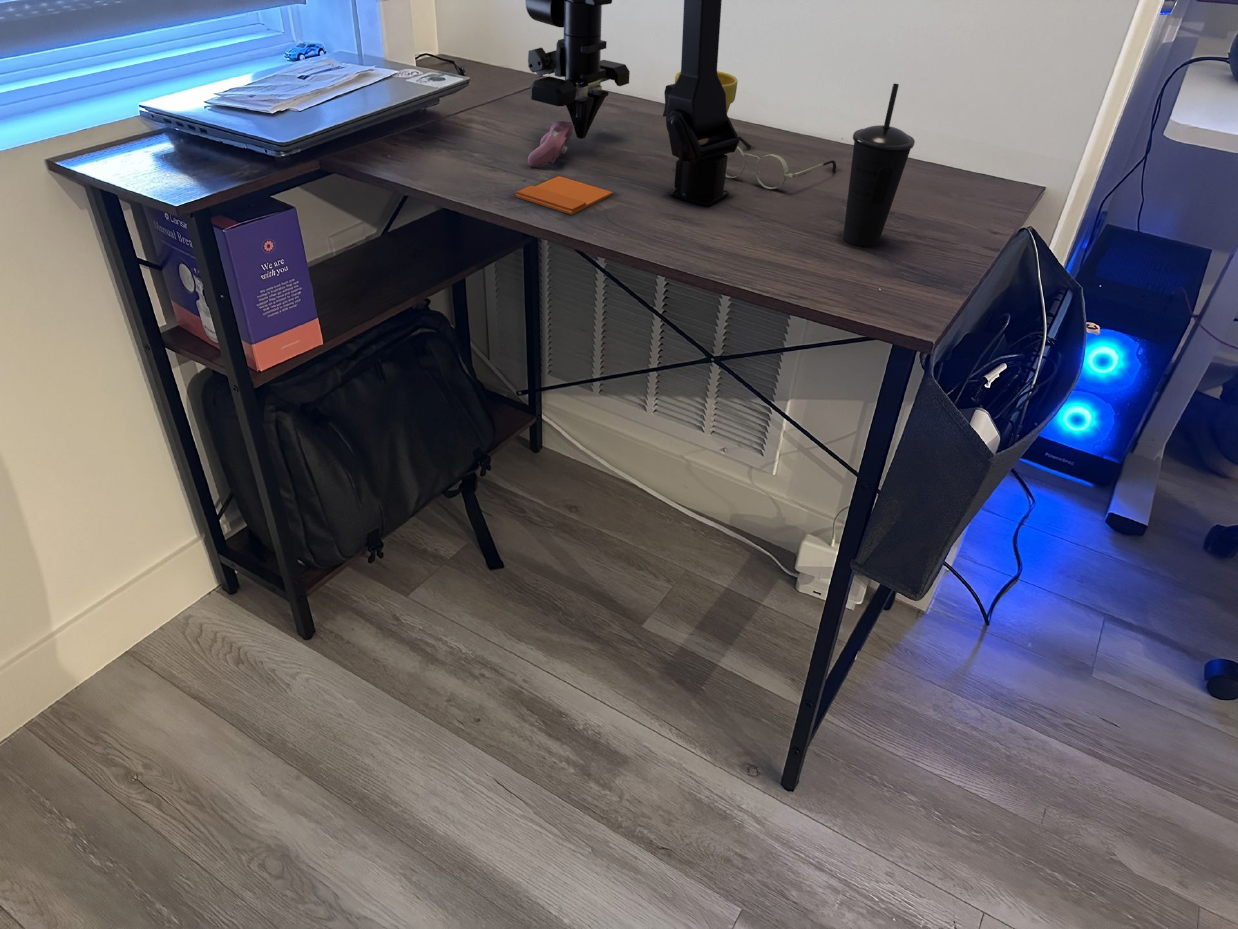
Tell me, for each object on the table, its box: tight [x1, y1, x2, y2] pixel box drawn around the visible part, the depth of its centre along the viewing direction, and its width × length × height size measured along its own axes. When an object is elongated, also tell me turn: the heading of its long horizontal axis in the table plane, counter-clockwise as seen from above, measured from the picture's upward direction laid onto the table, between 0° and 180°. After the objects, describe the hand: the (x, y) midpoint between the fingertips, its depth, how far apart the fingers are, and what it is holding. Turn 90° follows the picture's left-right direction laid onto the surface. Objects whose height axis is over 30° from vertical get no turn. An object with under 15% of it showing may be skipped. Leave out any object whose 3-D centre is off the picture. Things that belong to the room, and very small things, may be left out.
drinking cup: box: [842, 83, 916, 248], centre depth 113 cm, size 8×8×20 cm
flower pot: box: [674, 70, 738, 143], centre depth 148 cm, size 10×10×10 cm
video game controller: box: [527, 118, 575, 168], centre depth 137 cm, size 10×5×7 cm, turn 171°
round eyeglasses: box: [725, 136, 837, 190], centre depth 137 cm, size 17×15×5 cm
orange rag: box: [515, 175, 614, 216], centre depth 127 cm, size 10×10×1 cm
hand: (580, 137), depth 143 cm, fingers closed
